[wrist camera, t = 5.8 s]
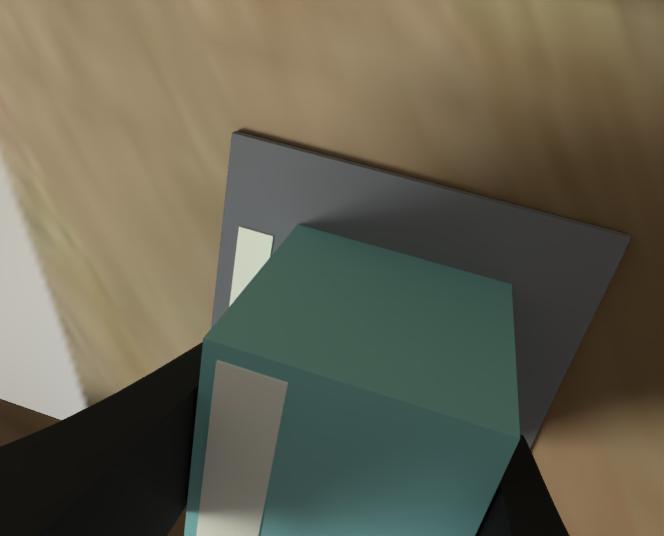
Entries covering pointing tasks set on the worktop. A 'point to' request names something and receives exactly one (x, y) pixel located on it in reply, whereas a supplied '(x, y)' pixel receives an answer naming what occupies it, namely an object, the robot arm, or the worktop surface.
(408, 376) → the cube
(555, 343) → the mat
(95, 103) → the worktop surface
